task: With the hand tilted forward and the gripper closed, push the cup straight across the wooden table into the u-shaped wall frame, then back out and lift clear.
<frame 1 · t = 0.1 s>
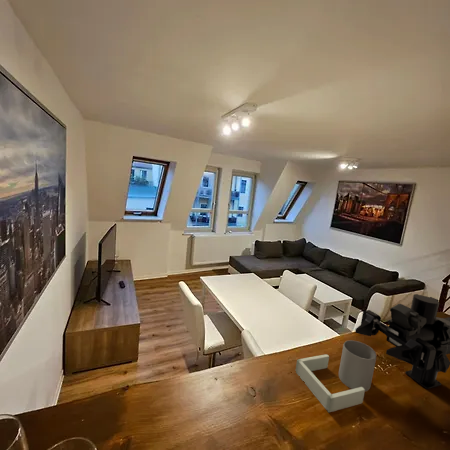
hand: (370, 340, 65), 17 cm above the table, tool horizontal, fingers open, 9 cm apart
u-shaped wall frame: (328, 385, 70), on the table
cup: (353, 380, 73), on the table
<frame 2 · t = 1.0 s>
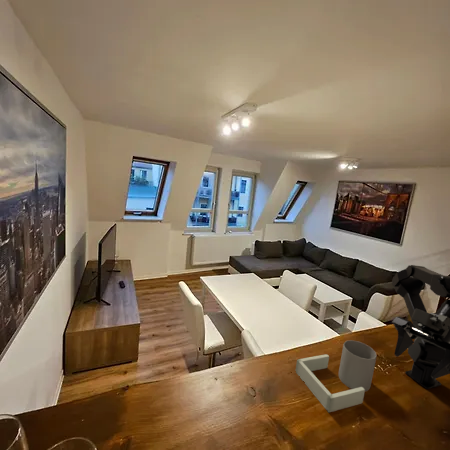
hand: (412, 365, 63), 12 cm above the table, tool tilted 45°, fingers open, 9 cm apart
nothing on the table moved.
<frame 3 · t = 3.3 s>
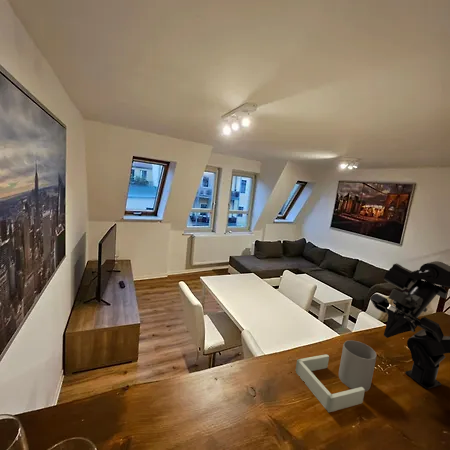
hand: (385, 336, 72), 14 cm above the table, tool tilted 45°, fingers closed
nothing on the table moved.
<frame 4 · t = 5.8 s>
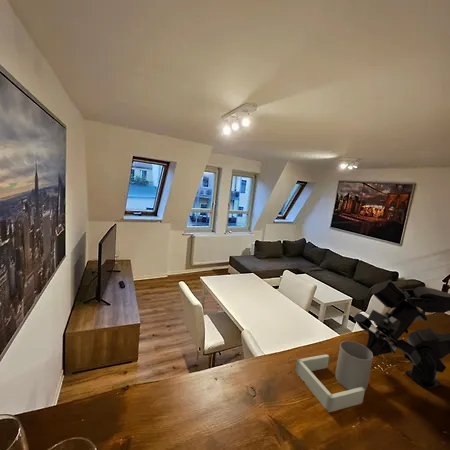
hand: (365, 357, 73), 7 cm above the table, tool tilted 45°, fingers closed
cup: (350, 381, 73), on the table, touching gripper
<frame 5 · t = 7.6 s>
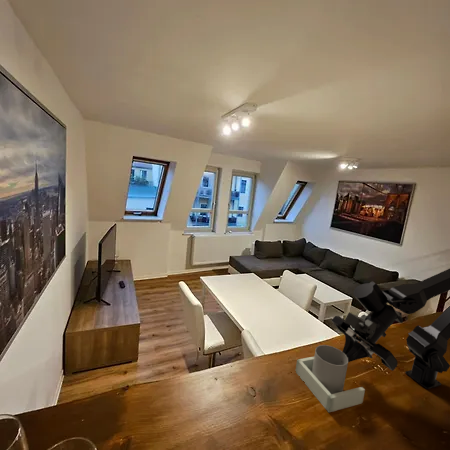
hand: (341, 362, 70), 7 cm above the table, tool tilted 45°, fingers closed, pressing on cup
cup: (325, 387, 69), on the table, touching u-shaped wall frame, gripper
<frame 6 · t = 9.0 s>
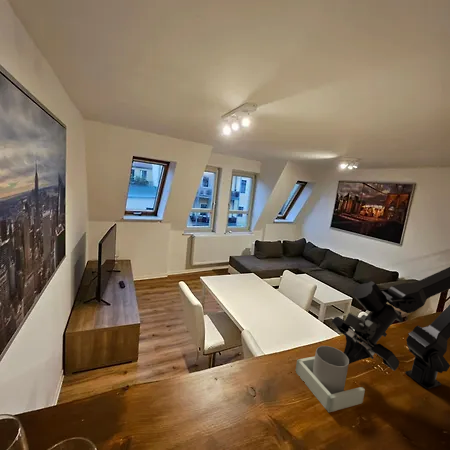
hand: (342, 363, 69), 7 cm above the table, tool tilted 45°, fingers closed, pressing on cup
cup: (326, 388, 69), on the table, touching u-shaped wall frame, gripper
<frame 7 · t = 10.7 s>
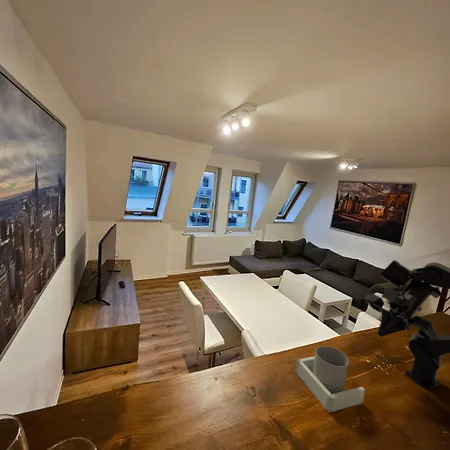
hand: (379, 335, 73), 14 cm above the table, tool tilted 45°, fingers closed
cup: (326, 388, 69), on the table
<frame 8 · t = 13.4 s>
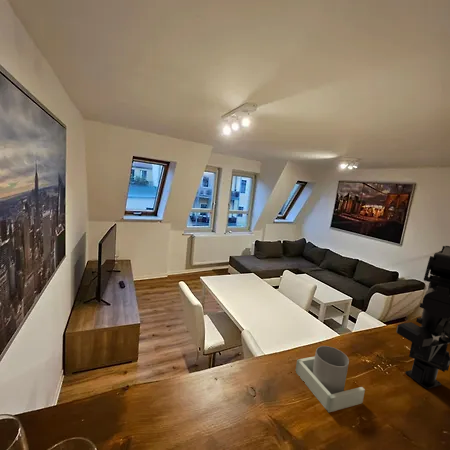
hand: (426, 360, 64), 13 cm above the table, tool pointing down, fingers closed
nothing on the table moved.
at the end: cup 0.6 cm from the target spot on the u-shaped wall frame, point 0.0 cm above the u-shaped wall frame's base; cup tilted 0° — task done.
